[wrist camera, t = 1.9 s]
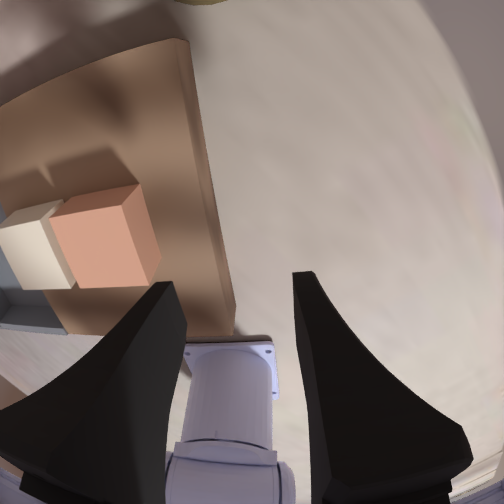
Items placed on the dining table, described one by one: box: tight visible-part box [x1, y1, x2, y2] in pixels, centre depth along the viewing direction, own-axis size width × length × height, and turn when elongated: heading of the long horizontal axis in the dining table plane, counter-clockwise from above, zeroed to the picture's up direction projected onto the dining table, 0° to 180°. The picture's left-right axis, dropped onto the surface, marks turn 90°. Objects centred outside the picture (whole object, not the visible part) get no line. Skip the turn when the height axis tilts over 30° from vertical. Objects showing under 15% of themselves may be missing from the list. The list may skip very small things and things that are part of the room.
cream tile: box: [0, 199, 76, 290], centre depth 16 cm, size 4×4×2 cm
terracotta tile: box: [49, 184, 162, 288], centre depth 15 cm, size 4×4×2 cm
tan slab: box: [0, 38, 236, 337], centre depth 18 cm, size 18×14×3 cm
